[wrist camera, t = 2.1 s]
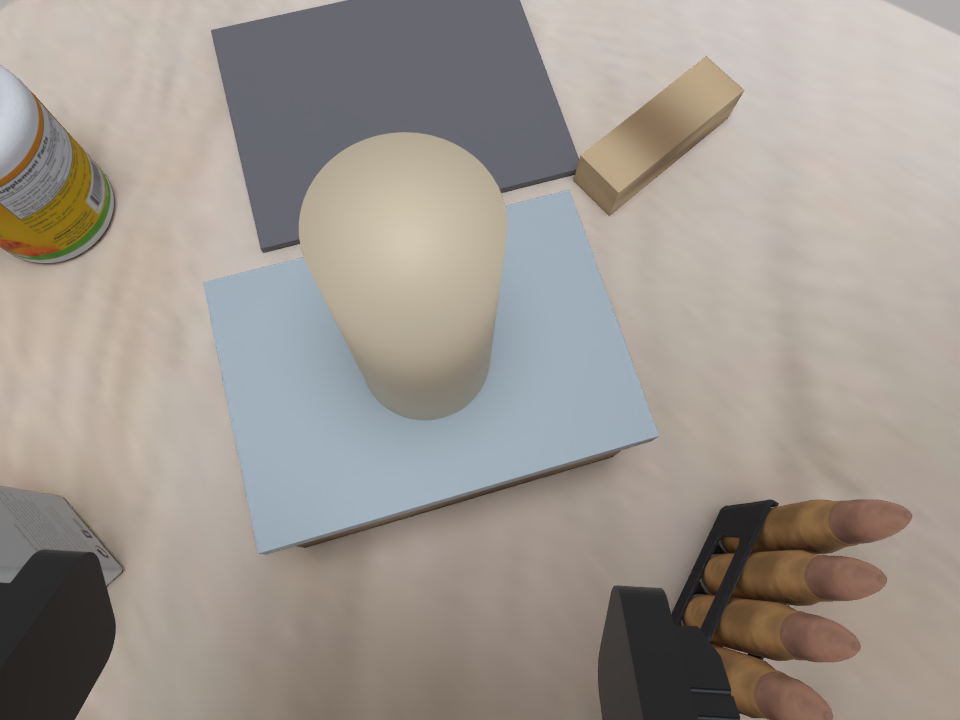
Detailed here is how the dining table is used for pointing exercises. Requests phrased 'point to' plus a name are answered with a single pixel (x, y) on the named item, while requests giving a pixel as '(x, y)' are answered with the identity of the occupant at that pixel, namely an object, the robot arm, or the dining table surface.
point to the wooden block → (657, 135)
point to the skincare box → (43, 532)
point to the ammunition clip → (782, 594)
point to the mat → (386, 94)
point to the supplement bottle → (46, 182)
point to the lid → (417, 345)
